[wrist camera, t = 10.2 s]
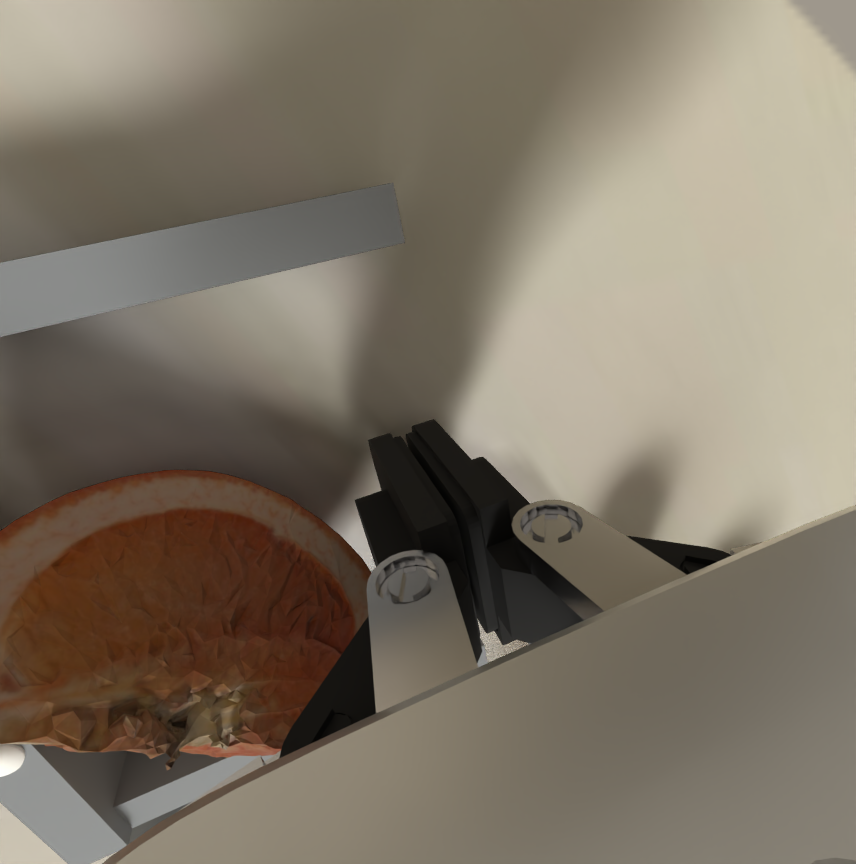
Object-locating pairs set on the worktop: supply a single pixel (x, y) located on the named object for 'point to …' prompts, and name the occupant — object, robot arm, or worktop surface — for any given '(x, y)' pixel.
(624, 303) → the worktop surface
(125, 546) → the fruit slice
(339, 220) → the corral
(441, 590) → the robot arm
